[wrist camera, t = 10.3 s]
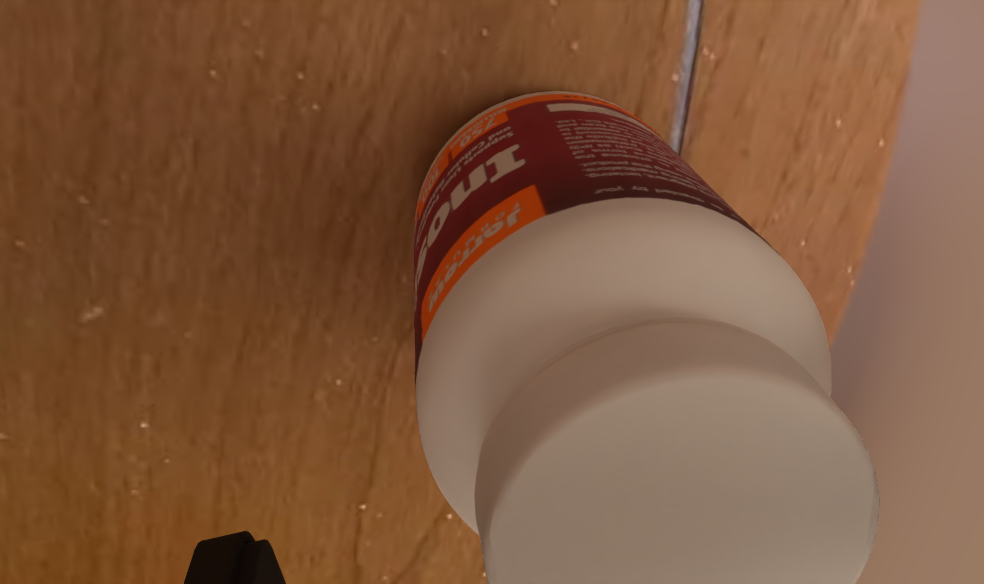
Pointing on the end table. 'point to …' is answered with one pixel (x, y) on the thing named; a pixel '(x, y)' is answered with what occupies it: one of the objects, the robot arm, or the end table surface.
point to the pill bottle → (623, 365)
